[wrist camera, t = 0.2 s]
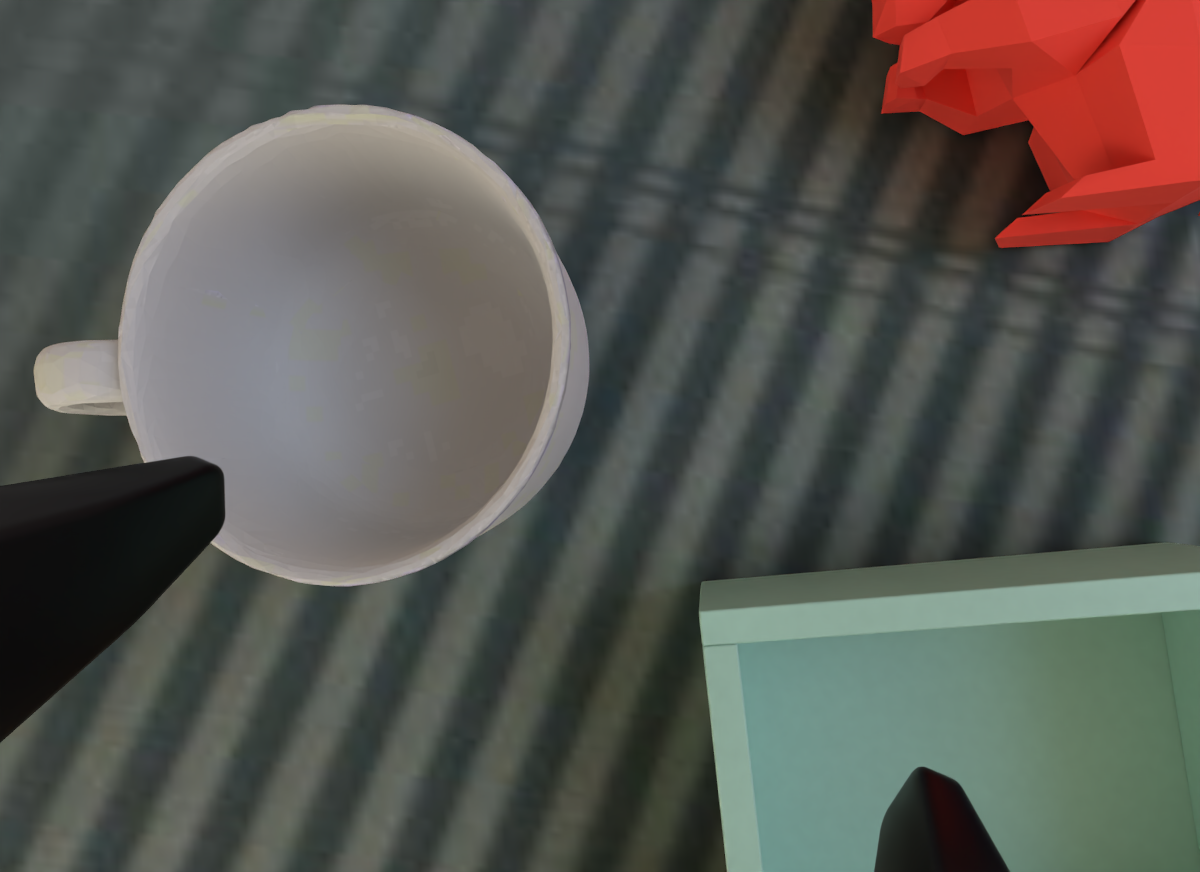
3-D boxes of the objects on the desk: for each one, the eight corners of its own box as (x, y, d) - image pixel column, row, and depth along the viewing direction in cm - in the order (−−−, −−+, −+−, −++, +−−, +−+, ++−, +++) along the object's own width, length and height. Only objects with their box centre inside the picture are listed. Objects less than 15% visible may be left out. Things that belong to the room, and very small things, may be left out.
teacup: (631, 235, 24) (593, 111, 16) (591, 577, 24) (532, 623, 16) (231, 207, 26) (24, 85, 18) (186, 521, 26) (-49, 536, 18)
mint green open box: (1237, 974, 20) (1433, 1156, 15) (744, 981, 22) (756, 1146, 17) (1168, 542, 21) (1329, 561, 16) (700, 581, 23) (698, 611, 18)
